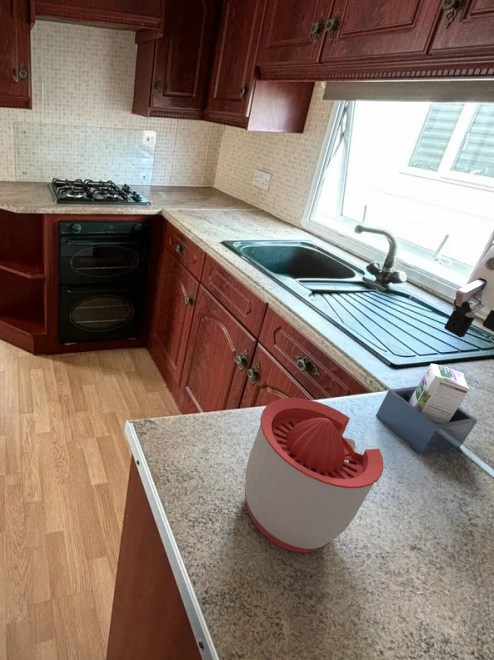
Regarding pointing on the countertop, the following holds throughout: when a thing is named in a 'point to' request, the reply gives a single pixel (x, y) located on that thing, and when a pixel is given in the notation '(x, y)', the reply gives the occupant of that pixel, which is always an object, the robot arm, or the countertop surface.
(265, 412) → the citrus juicer
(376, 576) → the countertop surface
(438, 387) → the syrup box
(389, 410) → the box
